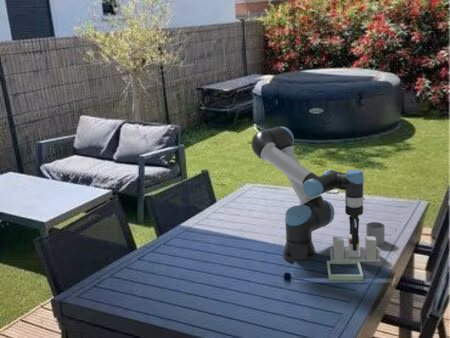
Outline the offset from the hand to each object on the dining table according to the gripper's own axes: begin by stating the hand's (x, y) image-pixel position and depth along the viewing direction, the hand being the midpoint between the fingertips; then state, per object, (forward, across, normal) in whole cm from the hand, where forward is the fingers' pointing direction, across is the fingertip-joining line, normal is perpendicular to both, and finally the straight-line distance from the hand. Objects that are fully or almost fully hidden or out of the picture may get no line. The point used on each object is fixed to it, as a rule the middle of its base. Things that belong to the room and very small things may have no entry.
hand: (353, 253), depth 222 cm
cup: (+3, +17, -12) cm, 21 cm away
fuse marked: (0, 0, 0) cm, 0 cm away
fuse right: (+1, 0, -7) cm, 7 cm away
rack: (+3, 0, 0) cm, 3 cm away
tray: (+3, -13, +5) cm, 15 cm away
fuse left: (+2, 0, +7) cm, 7 cm away
